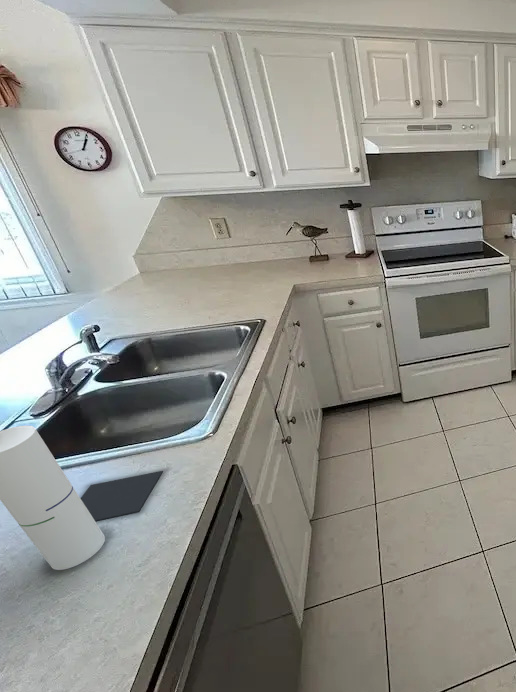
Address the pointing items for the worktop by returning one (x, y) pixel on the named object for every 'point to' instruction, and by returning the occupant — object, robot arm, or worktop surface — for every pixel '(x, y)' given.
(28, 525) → the cylindrical container
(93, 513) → the mat
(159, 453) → the worktop surface
